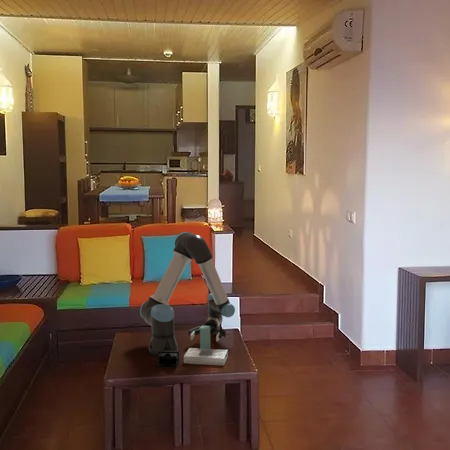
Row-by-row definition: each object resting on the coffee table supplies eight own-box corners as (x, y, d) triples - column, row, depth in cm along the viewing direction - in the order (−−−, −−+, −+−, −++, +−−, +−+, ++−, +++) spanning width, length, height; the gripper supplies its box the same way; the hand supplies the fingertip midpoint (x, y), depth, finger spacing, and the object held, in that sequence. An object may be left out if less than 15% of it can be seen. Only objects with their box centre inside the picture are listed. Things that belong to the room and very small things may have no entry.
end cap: (179, 362, 281) (179, 349, 280) (178, 368, 274) (177, 354, 273) (159, 362, 282) (159, 349, 281) (157, 367, 275) (157, 354, 274)
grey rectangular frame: (183, 363, 280) (183, 356, 279) (189, 354, 292) (189, 347, 291) (223, 365, 277) (223, 358, 276) (227, 356, 288) (227, 349, 288)
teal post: (200, 350, 297) (199, 328, 296) (202, 347, 302) (201, 325, 300) (208, 350, 297) (208, 328, 295) (210, 347, 301) (210, 325, 299)
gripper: (234, 333, 314) (227, 346, 294) (189, 331, 318) (180, 344, 298) (233, 320, 313) (227, 332, 293) (189, 318, 317) (180, 330, 297)
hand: (204, 338), depth 295 cm, fingers open, 13 cm apart
